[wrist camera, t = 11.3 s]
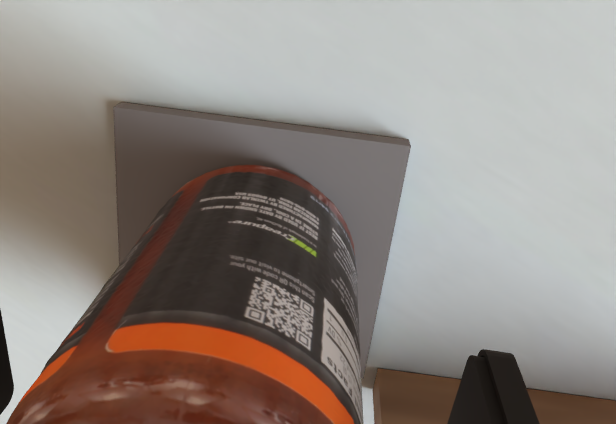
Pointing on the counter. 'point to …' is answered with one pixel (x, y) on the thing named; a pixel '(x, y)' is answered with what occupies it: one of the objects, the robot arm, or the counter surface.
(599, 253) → the counter surface
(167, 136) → the mat
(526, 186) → the counter surface
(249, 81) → the counter surface
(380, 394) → the angled wooden boards
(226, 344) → the supplement bottle
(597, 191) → the counter surface
